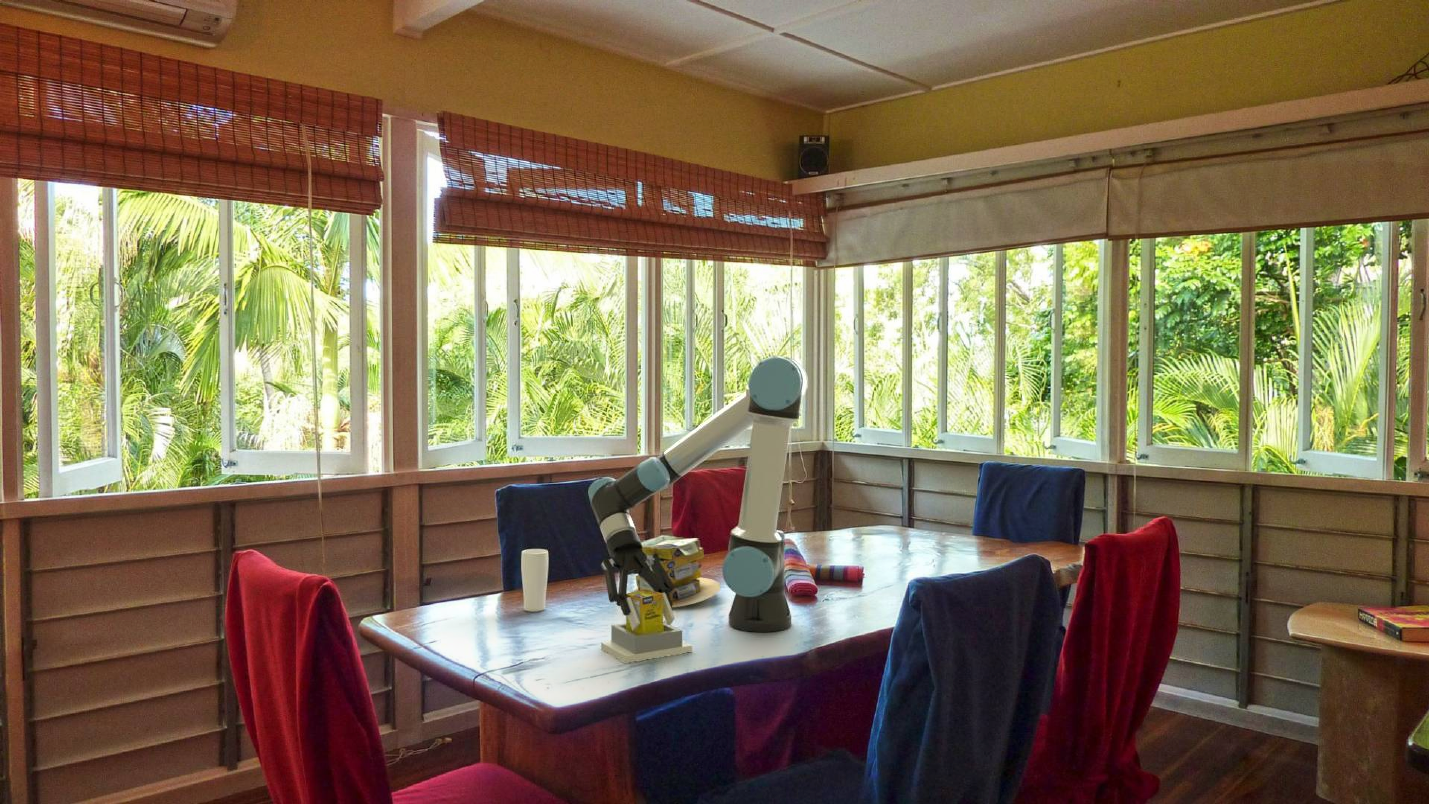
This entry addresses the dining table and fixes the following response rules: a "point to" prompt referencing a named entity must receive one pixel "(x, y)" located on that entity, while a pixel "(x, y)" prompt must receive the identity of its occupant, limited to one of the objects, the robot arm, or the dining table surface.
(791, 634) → the dining table surface
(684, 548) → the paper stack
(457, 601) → the dining table surface
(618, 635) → the box holder
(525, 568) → the drinking glass
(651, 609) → the supplement box
